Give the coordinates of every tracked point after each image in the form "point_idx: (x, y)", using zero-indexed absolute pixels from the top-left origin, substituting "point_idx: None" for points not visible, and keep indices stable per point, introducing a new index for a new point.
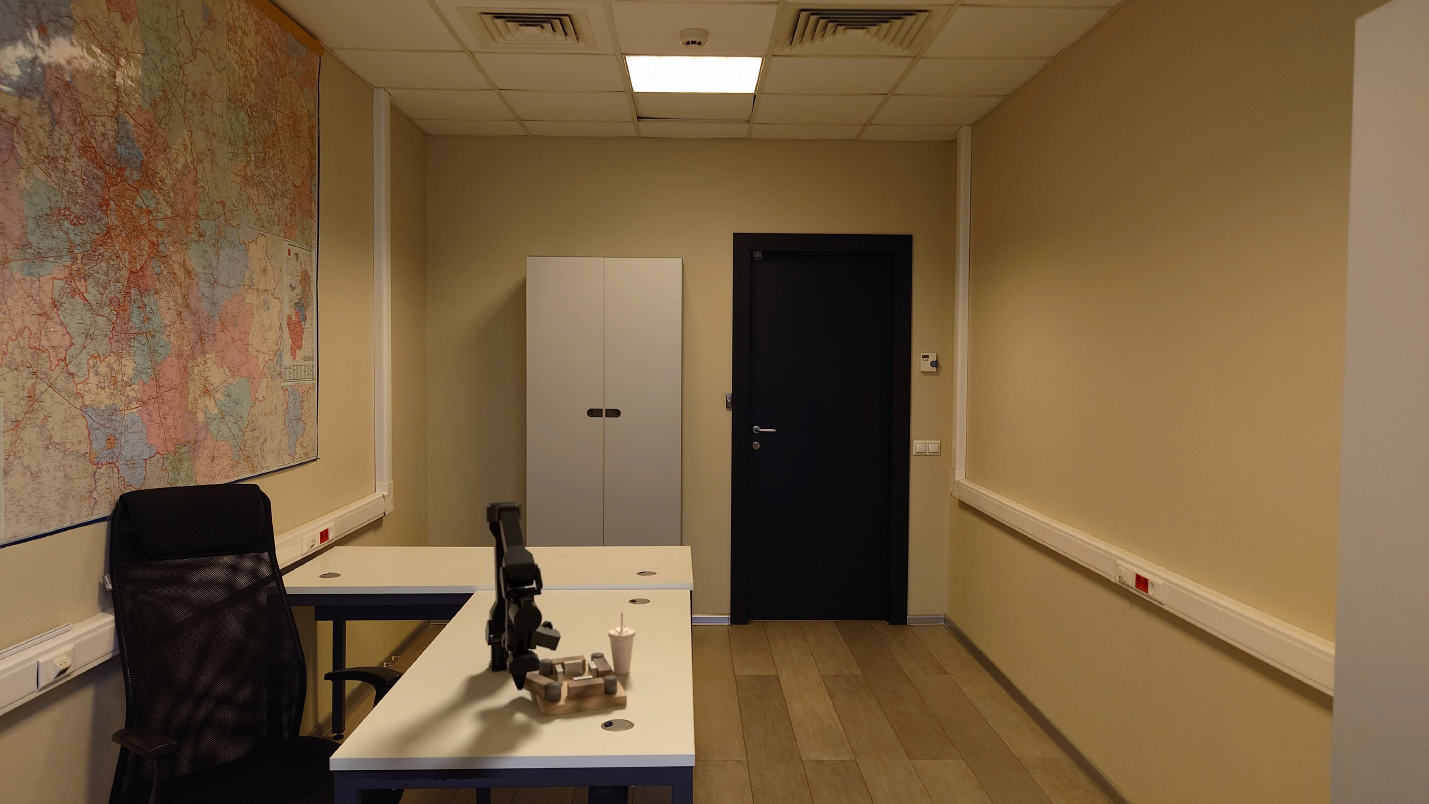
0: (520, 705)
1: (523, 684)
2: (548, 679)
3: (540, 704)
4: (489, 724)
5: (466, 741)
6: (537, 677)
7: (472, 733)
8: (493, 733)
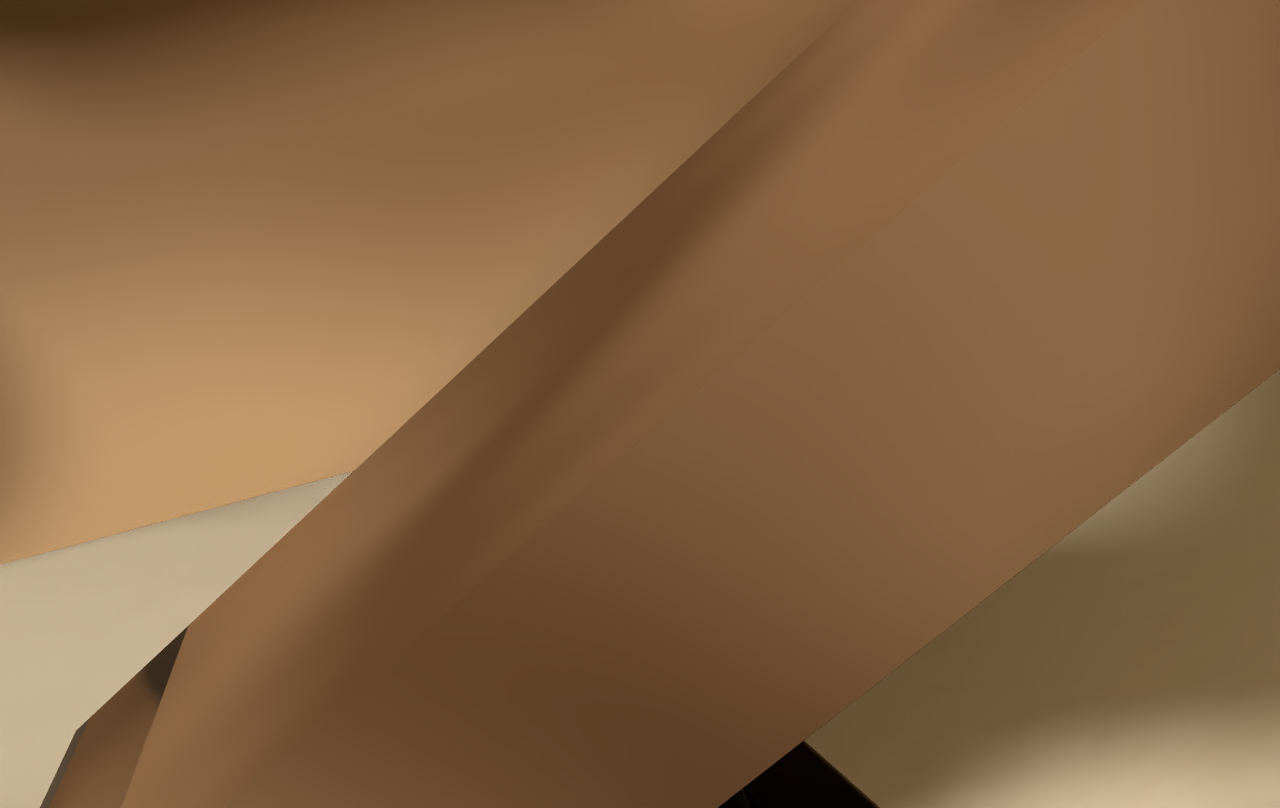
0: None
1: (829, 765)
2: (999, 197)
3: None
4: (1078, 703)
5: (1275, 760)
6: (713, 601)
7: (1174, 767)
8: (1265, 623)
